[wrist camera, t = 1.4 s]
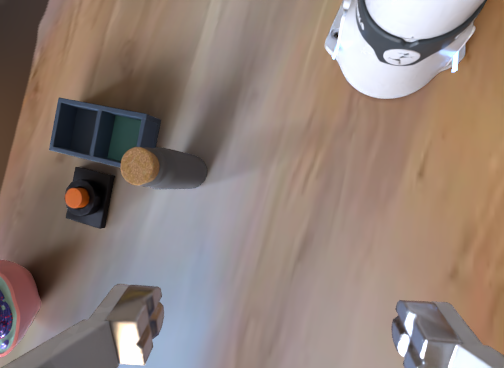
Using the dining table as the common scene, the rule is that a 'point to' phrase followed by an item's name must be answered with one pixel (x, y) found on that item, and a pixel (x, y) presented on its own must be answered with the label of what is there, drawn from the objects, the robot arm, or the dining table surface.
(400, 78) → the robot arm
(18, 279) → the cell model
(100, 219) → the control block
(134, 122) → the tray
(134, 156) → the bottle
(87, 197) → the button
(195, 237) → the dining table surface
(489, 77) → the dining table surface
